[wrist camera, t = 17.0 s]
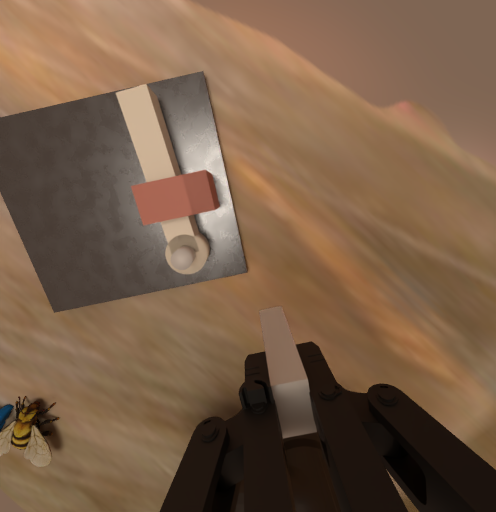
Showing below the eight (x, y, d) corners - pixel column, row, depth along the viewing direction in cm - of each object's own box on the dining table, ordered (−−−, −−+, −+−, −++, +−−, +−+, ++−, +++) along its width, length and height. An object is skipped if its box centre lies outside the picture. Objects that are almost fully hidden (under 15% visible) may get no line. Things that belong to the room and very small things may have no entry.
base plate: (247, 269, 43) (247, 272, 41) (60, 308, 44) (54, 312, 42) (204, 76, 36) (203, 71, 34) (-19, 127, 36) (-30, 124, 35)
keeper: (220, 207, 39) (215, 210, 31) (161, 219, 39) (143, 225, 32) (212, 174, 37) (205, 169, 30) (152, 187, 38) (130, 185, 30)
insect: (76, 394, 48) (58, 416, 44) (61, 448, 52) (43, 475, 47) (16, 377, 47) (-9, 398, 42) (5, 434, 50) (-20, 460, 46)
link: (214, 261, 40) (209, 275, 34) (179, 270, 41) (167, 285, 34) (163, 94, 34) (144, 69, 27) (122, 106, 34) (93, 84, 28)
